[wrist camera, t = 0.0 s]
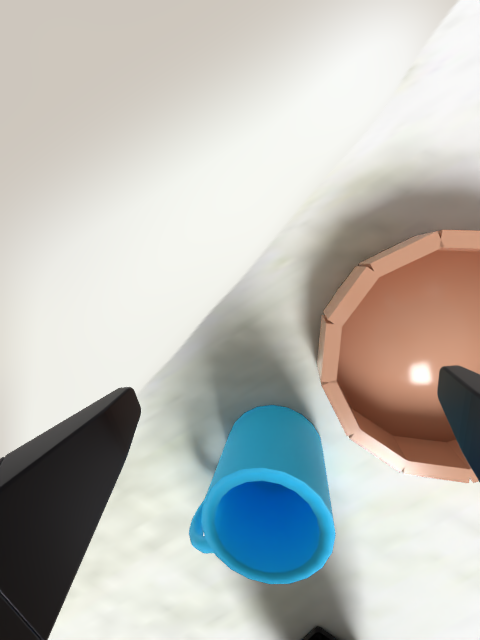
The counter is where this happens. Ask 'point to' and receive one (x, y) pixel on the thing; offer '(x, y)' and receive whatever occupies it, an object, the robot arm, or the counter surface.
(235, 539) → the mug
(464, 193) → the counter surface
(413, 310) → the bowl
